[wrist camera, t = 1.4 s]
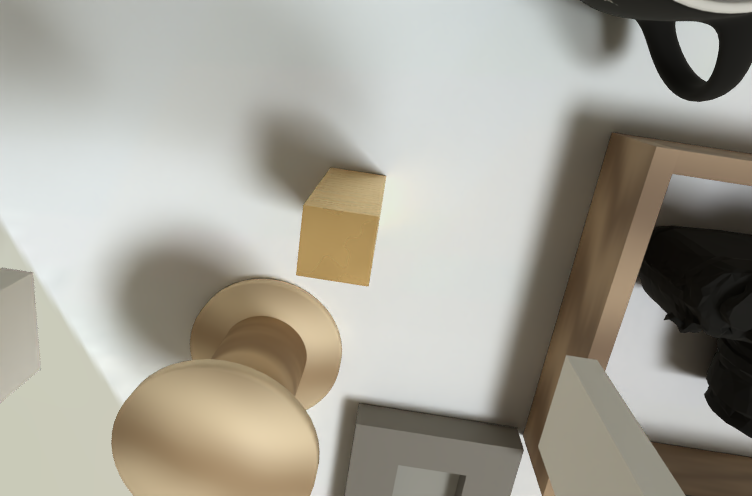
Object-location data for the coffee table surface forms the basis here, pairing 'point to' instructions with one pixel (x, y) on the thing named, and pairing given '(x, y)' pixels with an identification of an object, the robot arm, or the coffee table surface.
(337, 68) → the coffee table surface
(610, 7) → the mug
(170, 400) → the wooden spool
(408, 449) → the board
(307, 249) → the block
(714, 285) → the film camera
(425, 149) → the coffee table surface
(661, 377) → the coffee table surface
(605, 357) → the caddy
